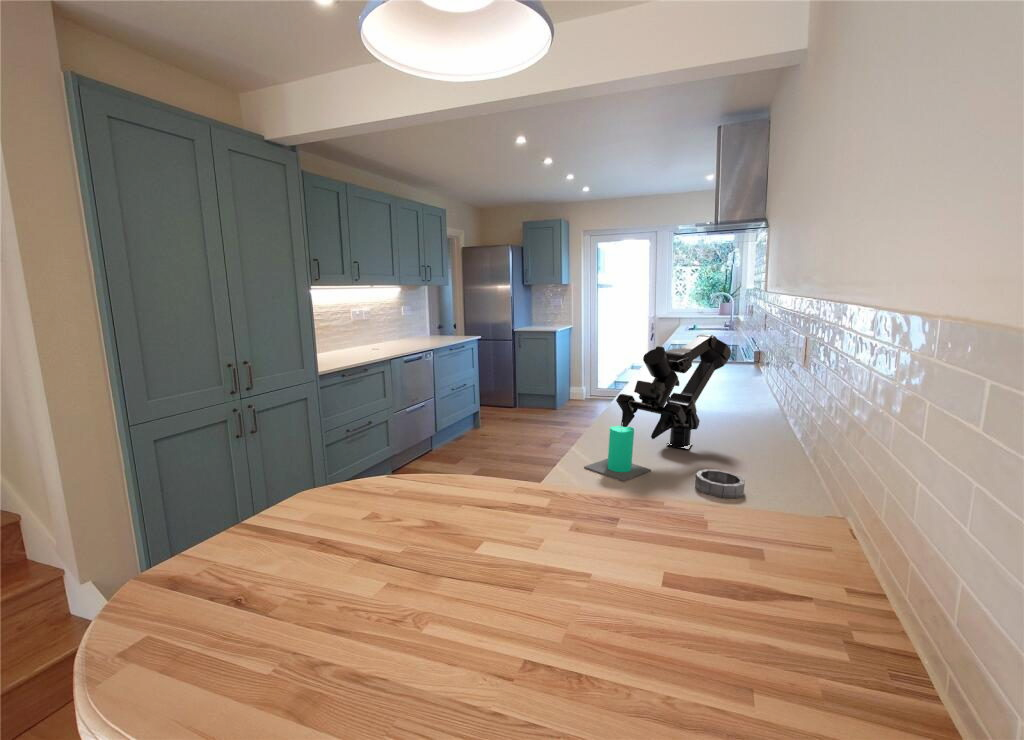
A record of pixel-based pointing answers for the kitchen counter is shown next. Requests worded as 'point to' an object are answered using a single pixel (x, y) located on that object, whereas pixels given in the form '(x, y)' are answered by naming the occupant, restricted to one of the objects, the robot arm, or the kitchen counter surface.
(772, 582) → the kitchen counter surface
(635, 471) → the mat
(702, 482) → the ring holder
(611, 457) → the candle
